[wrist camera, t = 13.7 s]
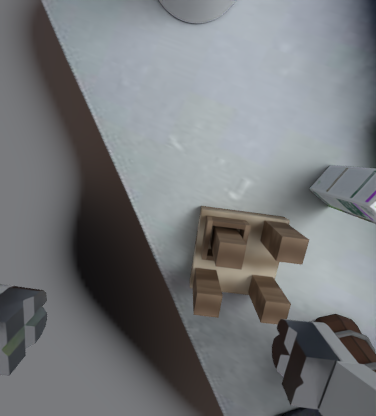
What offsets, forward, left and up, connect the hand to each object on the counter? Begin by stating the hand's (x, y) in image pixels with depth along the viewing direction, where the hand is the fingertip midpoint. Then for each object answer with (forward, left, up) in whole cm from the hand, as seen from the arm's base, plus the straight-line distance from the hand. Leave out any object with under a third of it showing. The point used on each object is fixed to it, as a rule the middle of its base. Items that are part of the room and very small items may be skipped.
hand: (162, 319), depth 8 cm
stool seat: (+12, +12, -35) cm, 39 cm away
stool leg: (+9, +8, -33) cm, 35 cm away
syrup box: (-3, +27, -35) cm, 45 cm away
